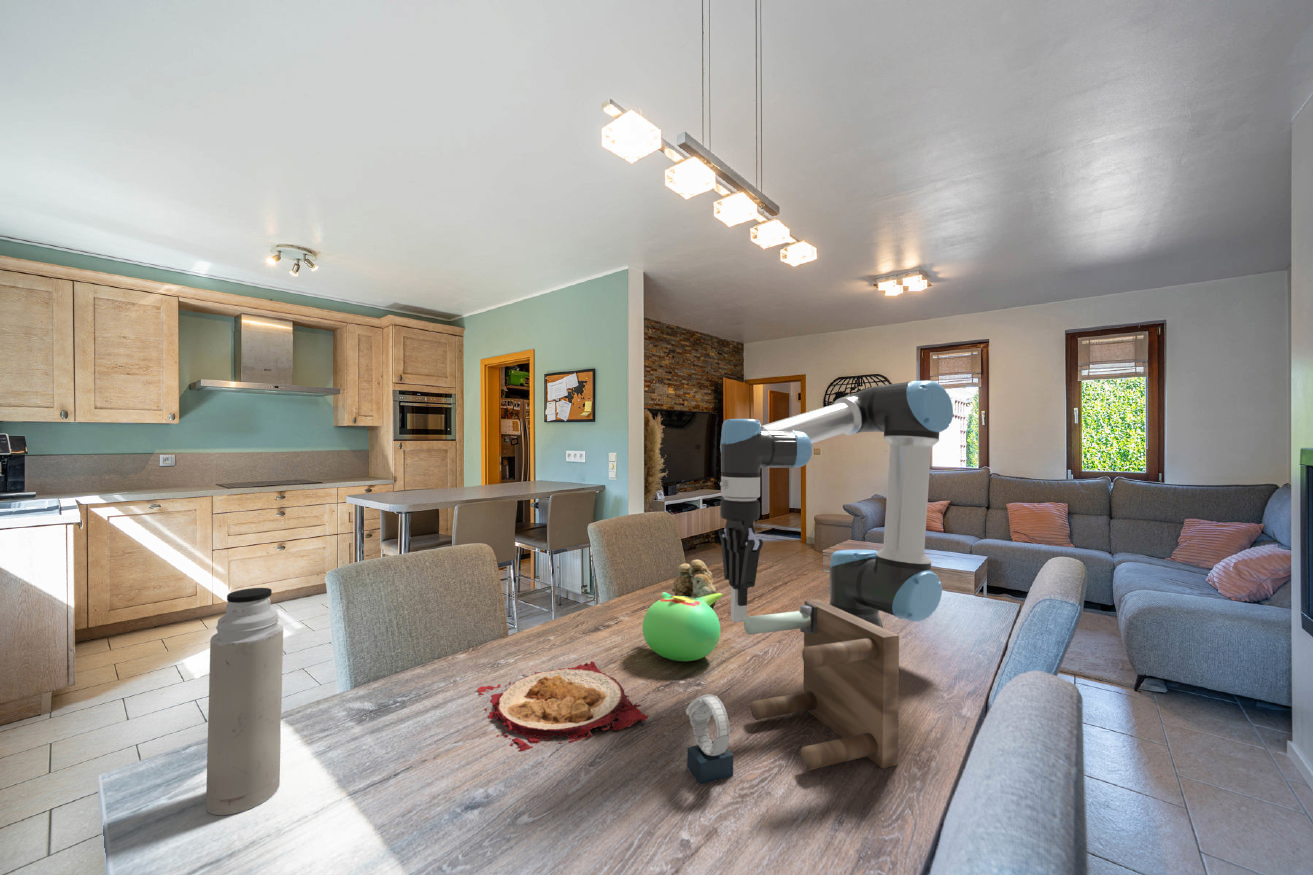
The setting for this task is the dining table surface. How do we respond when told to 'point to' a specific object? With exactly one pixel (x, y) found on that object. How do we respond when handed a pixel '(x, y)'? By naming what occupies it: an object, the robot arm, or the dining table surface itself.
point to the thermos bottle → (244, 704)
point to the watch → (709, 741)
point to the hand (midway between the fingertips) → (738, 620)
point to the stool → (845, 688)
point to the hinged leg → (780, 621)
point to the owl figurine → (694, 581)
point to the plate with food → (563, 705)
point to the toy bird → (682, 627)
